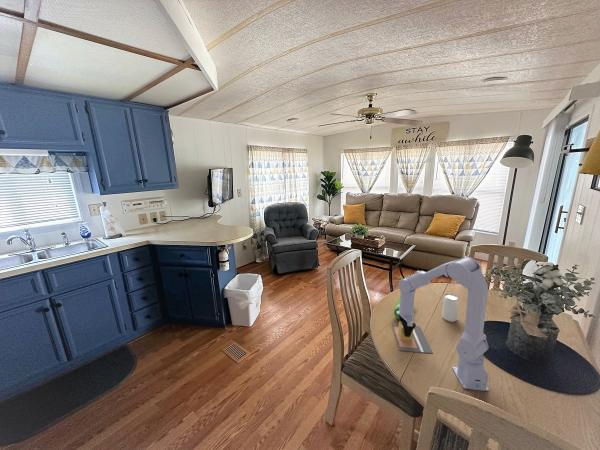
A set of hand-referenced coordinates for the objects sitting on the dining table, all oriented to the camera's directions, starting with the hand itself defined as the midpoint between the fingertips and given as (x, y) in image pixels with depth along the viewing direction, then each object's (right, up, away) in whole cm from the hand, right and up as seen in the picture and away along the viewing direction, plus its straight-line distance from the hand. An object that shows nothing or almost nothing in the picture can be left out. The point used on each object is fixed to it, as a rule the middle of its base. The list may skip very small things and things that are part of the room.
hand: (405, 330), depth 111 cm
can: (+28, 0, +14) cm, 31 cm away
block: (0, -3, +1) cm, 3 cm away
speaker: (+8, +1, +20) cm, 22 cm away
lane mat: (+3, -3, 0) cm, 4 cm away
